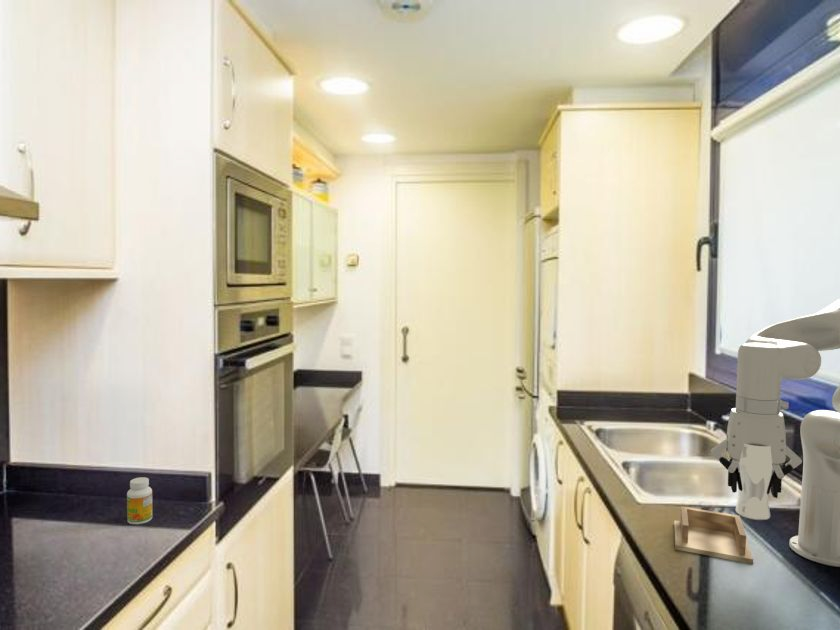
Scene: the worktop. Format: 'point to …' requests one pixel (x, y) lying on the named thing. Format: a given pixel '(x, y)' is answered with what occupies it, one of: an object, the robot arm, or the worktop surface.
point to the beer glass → (754, 481)
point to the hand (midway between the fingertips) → (753, 491)
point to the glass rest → (712, 534)
